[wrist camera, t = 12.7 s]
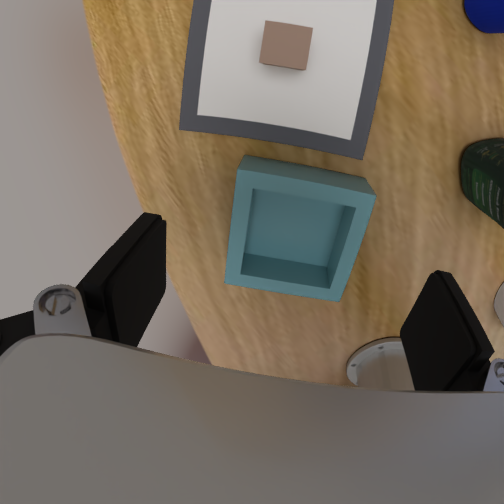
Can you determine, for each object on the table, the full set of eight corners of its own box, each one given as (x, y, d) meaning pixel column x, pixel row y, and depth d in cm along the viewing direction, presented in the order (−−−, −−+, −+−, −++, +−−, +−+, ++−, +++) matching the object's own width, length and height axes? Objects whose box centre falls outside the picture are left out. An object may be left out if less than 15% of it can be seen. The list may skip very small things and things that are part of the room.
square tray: (365, 178, 32) (376, 195, 28) (334, 275, 39) (339, 301, 35) (244, 154, 32) (237, 169, 28) (231, 258, 39) (224, 283, 35)
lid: (374, 1, 21) (396, -15, 15) (348, 138, 29) (364, 156, 23) (218, -24, 21) (200, -46, 15) (199, 113, 29) (177, 125, 24)
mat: (393, -8, 20) (395, -9, 20) (361, 158, 31) (362, 160, 30) (202, -38, 21) (201, -40, 20) (181, 128, 31) (179, 129, 31)
